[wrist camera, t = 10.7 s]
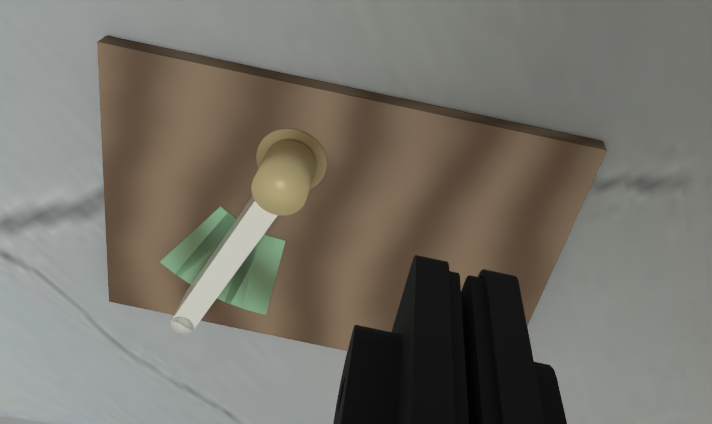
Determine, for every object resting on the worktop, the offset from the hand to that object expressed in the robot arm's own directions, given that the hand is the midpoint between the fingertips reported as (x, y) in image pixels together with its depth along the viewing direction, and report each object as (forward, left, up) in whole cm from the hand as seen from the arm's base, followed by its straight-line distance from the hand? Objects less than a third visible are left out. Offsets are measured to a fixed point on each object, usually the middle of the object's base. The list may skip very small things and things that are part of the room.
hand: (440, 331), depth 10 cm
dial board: (+3, +17, -27) cm, 32 cm away
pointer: (+9, +18, -26) cm, 32 cm away
